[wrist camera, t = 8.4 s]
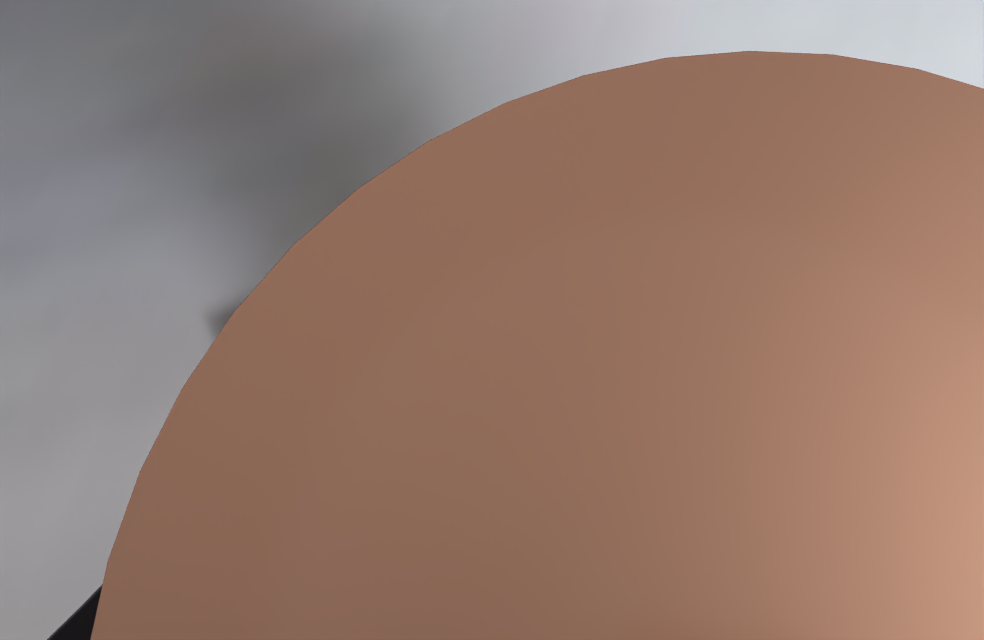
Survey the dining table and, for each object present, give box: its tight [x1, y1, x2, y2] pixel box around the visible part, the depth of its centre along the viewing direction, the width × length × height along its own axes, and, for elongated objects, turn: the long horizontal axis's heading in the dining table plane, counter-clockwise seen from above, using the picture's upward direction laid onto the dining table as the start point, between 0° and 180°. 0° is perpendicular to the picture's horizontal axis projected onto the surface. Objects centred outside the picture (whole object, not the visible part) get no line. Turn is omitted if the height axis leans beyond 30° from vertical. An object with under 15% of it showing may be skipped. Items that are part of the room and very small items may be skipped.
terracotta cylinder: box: [90, 51, 984, 640], centre depth 9 cm, size 5×5×13 cm
